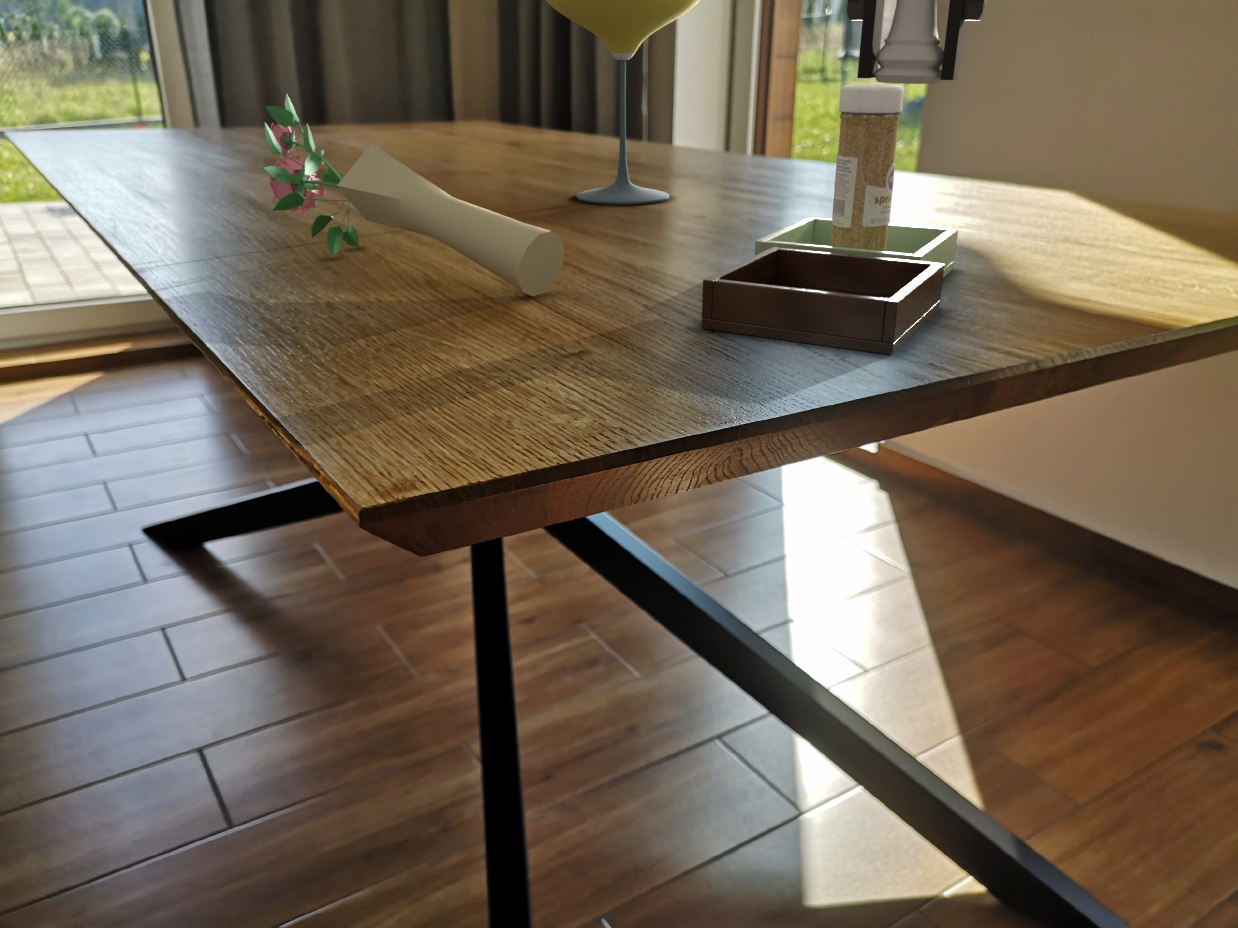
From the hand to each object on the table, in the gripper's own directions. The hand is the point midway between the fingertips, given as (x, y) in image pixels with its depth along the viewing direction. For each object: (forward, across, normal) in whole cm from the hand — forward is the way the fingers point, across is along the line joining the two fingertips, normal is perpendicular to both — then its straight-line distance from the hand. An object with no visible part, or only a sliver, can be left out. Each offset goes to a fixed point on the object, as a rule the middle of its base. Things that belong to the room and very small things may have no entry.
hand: (907, 77), depth 65 cm
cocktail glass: (+15, -37, +41) cm, 57 cm away
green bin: (+15, -4, +10) cm, 18 cm away
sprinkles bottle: (+14, -4, +10) cm, 18 cm away
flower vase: (+15, -40, -1) cm, 43 cm away
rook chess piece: (0, 0, 0) cm, 0 cm away
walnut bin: (+15, -3, -4) cm, 16 cm away
